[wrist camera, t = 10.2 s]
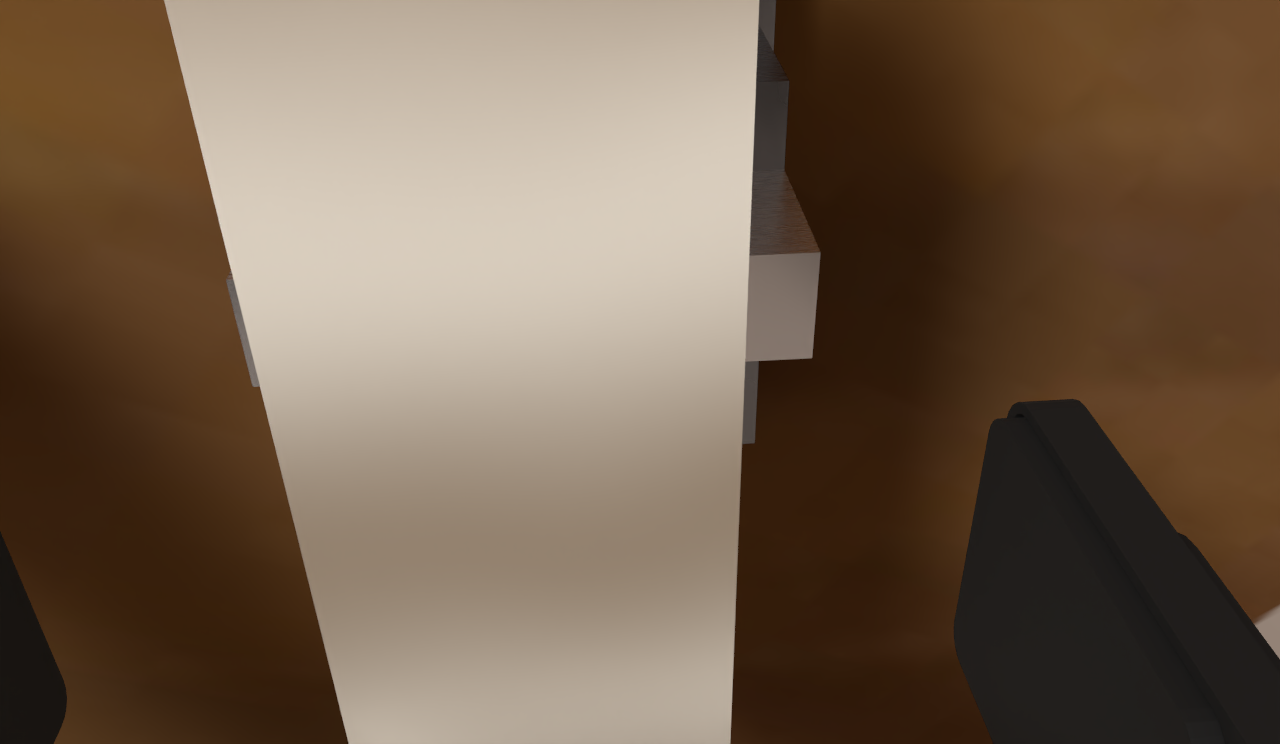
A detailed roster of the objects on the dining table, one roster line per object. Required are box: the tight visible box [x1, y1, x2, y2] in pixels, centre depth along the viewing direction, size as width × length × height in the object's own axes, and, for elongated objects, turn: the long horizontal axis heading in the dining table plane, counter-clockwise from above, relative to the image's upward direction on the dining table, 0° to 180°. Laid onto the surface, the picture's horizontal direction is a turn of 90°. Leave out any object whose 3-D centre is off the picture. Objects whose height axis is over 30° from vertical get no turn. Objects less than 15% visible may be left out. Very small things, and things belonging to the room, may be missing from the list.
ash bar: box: [164, 0, 759, 744], centre depth 12 cm, size 18×4×4 cm, turn 1°
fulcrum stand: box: [226, 0, 821, 444], centre depth 17 cm, size 14×8×8 cm, turn 1°
